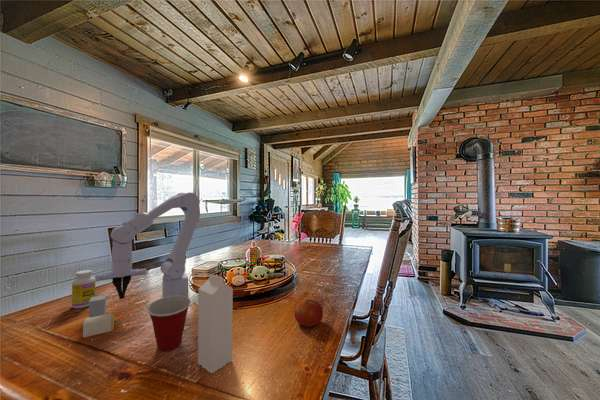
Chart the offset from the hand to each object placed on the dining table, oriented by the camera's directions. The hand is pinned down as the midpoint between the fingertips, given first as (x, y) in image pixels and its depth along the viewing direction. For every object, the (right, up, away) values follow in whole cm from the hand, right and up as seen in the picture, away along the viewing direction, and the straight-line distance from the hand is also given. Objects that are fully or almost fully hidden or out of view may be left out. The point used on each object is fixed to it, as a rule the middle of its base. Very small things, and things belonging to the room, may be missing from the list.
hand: (122, 297), depth 86 cm
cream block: (+4, -4, -9) cm, 11 cm away
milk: (+42, -6, -25) cm, 49 cm away
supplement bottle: (-19, -6, +6) cm, 21 cm away
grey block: (-6, -6, -4) cm, 9 cm away
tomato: (+66, -7, -5) cm, 67 cm away
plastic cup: (+27, -6, -18) cm, 33 cm away
